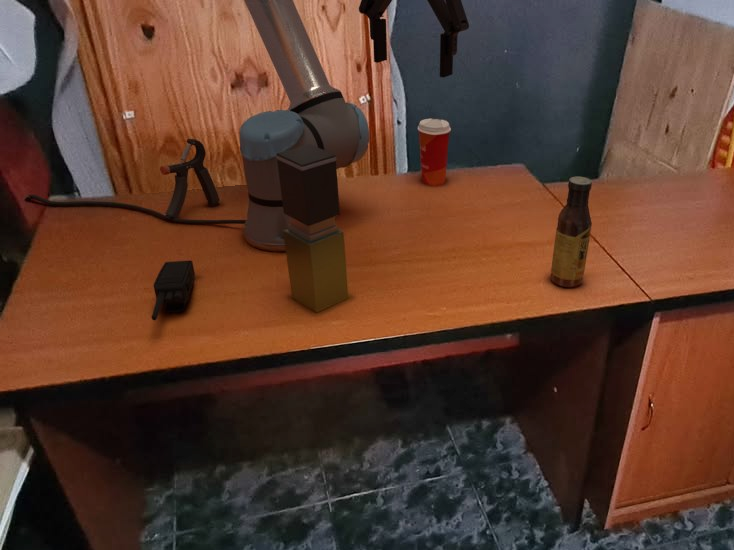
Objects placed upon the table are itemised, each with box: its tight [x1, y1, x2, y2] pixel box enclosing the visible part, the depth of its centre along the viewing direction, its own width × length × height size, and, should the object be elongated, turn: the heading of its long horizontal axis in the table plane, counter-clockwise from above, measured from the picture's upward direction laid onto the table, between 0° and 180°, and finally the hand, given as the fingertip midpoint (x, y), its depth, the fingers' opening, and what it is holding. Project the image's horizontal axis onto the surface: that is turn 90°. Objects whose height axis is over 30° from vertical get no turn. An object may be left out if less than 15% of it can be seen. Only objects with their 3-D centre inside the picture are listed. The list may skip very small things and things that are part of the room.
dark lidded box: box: [276, 144, 341, 226], centre depth 109 cm, size 6×6×10 cm
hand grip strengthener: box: [159, 138, 221, 220], centre depth 141 cm, size 2×12×15 cm, turn 146°
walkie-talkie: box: [151, 259, 196, 321], centre depth 115 cm, size 6×6×20 cm
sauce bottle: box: [550, 175, 593, 288], centre depth 125 cm, size 6×6×20 cm
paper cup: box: [417, 118, 452, 187], centre depth 162 cm, size 8×8×14 cm
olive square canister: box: [283, 216, 349, 314], centre depth 117 cm, size 7×7×16 cm
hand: (412, 68), depth 117 cm, fingers open, 13 cm apart
